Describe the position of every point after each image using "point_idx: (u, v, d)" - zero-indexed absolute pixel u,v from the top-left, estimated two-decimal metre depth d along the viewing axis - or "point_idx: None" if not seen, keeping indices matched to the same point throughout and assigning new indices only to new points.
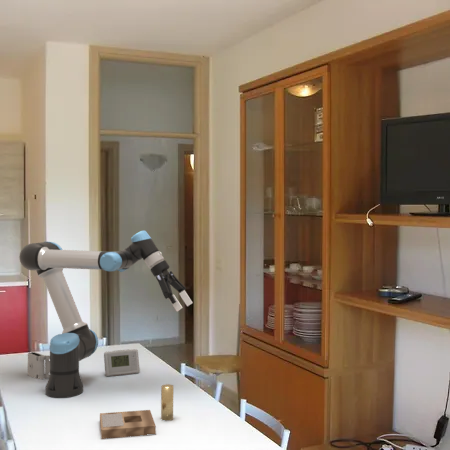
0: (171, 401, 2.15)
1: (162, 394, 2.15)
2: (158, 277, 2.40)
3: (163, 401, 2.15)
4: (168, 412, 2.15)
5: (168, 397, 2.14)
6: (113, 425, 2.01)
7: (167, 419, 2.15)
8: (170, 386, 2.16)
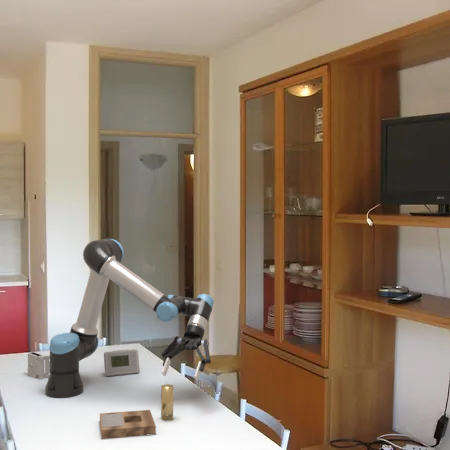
0: (171, 401, 2.15)
1: (162, 394, 2.15)
2: (207, 342, 2.32)
3: (163, 401, 2.15)
4: (168, 412, 2.15)
5: (168, 397, 2.14)
6: (113, 425, 2.01)
7: (167, 419, 2.15)
8: (170, 386, 2.16)
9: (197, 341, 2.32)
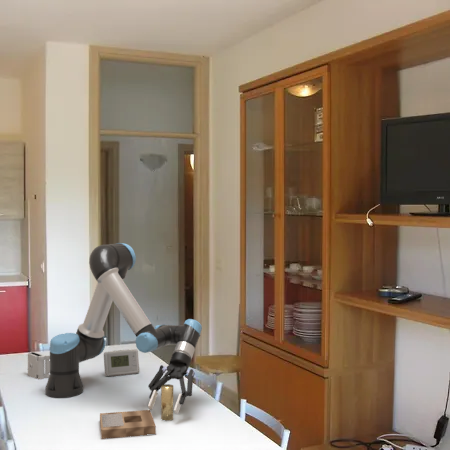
0: (171, 401, 2.15)
1: (162, 394, 2.15)
2: (193, 372, 2.22)
3: (163, 401, 2.15)
4: (168, 412, 2.15)
5: (168, 397, 2.14)
6: (113, 425, 2.01)
7: (167, 419, 2.15)
8: (170, 386, 2.16)
9: (183, 369, 2.22)
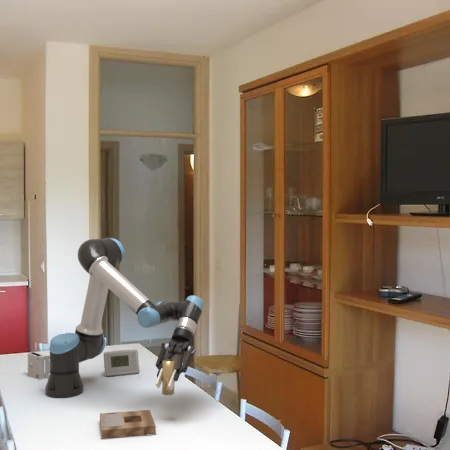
0: None
1: (163, 368, 2.15)
2: (193, 350, 2.20)
3: (164, 375, 2.14)
4: None
5: (169, 372, 2.14)
6: (113, 425, 2.01)
7: (168, 393, 2.14)
8: (171, 361, 2.15)
9: (184, 345, 2.22)
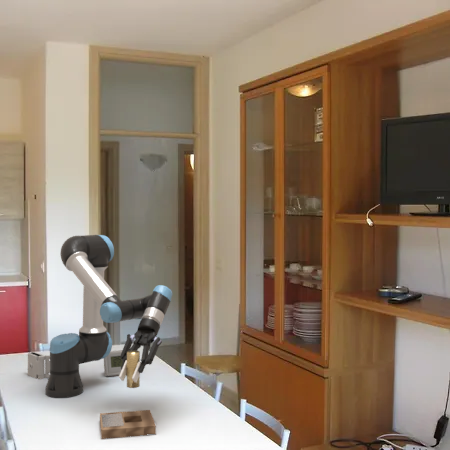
0: None
1: (128, 360, 2.06)
2: (159, 341, 2.11)
3: (129, 367, 2.05)
4: None
5: (133, 363, 2.05)
6: (113, 425, 2.01)
7: (133, 386, 2.05)
8: (136, 352, 2.07)
9: (150, 336, 2.13)
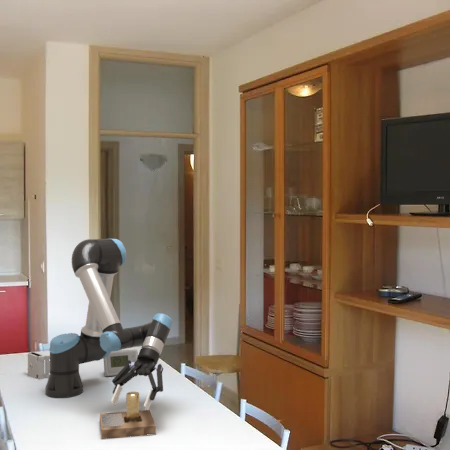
0: (136, 409, 2.06)
1: (127, 402, 2.06)
2: (161, 367, 2.13)
3: (128, 409, 2.06)
4: (133, 421, 2.06)
5: (133, 405, 2.05)
6: (113, 425, 2.01)
7: None
8: (136, 393, 2.07)
9: (150, 366, 2.13)
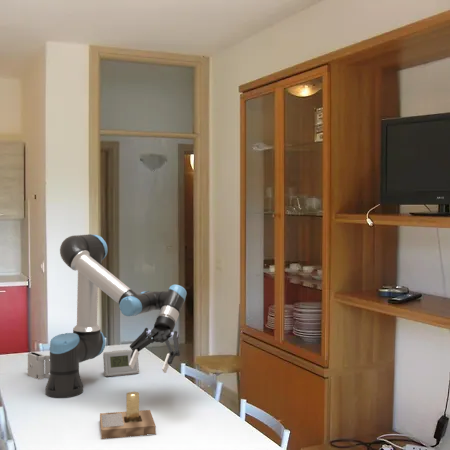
0: (136, 409, 2.06)
1: (127, 402, 2.06)
2: (177, 334, 2.24)
3: (128, 409, 2.06)
4: (133, 421, 2.06)
5: (133, 405, 2.05)
6: (113, 425, 2.01)
7: None
8: (136, 393, 2.07)
9: (167, 333, 2.24)
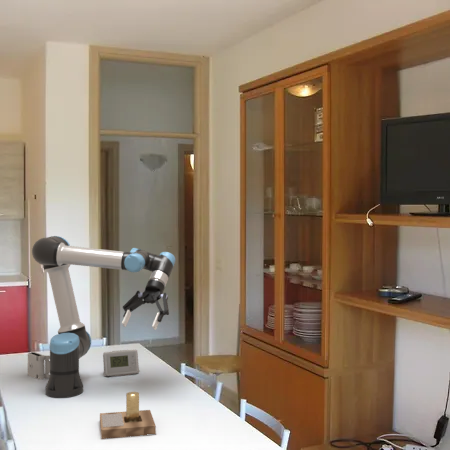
0: (136, 409, 2.06)
1: (127, 402, 2.06)
2: (166, 295, 2.43)
3: (128, 409, 2.06)
4: (133, 421, 2.06)
5: (133, 405, 2.05)
6: (113, 425, 2.01)
7: None
8: (135, 393, 2.07)
9: (157, 294, 2.43)
